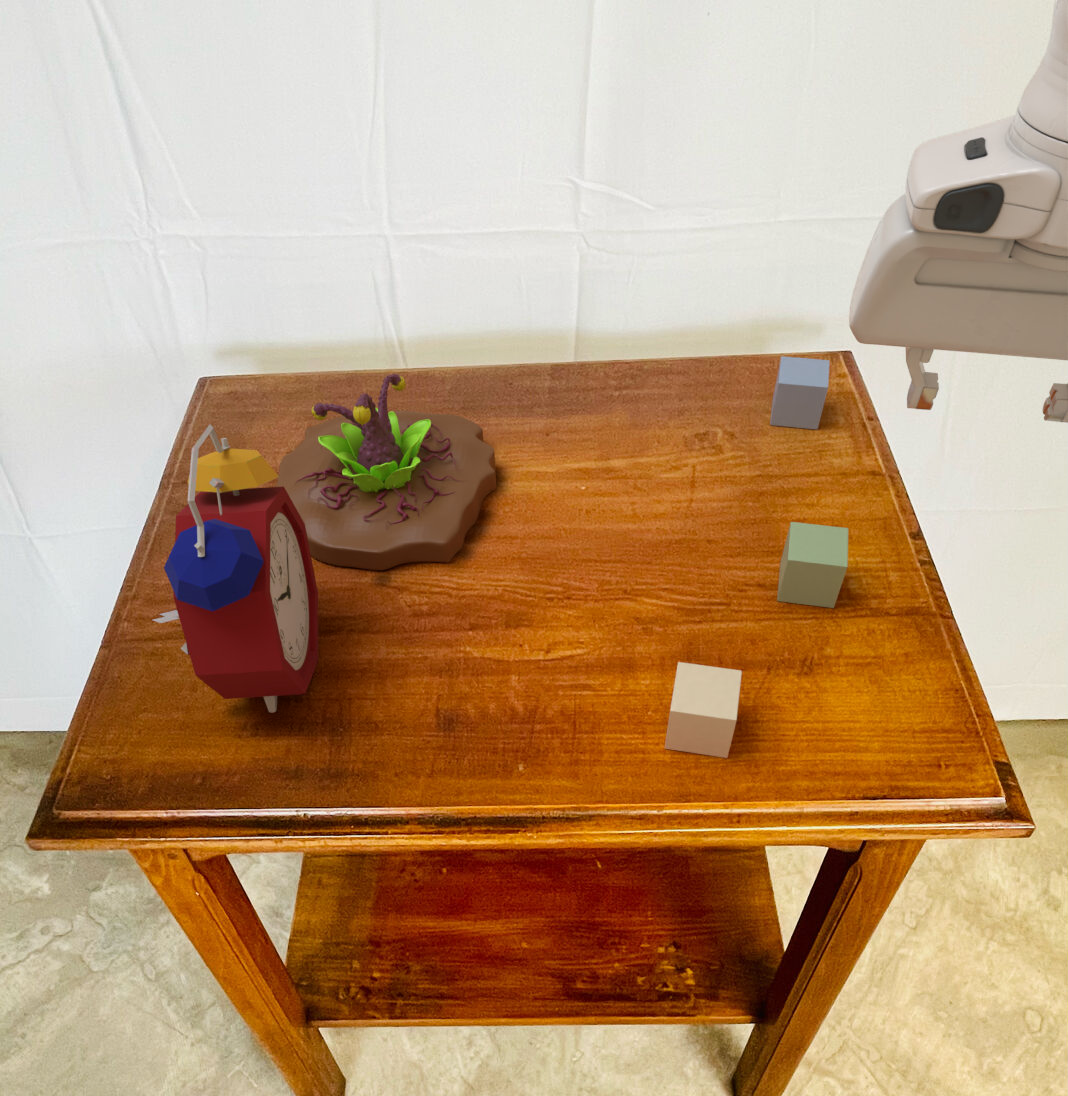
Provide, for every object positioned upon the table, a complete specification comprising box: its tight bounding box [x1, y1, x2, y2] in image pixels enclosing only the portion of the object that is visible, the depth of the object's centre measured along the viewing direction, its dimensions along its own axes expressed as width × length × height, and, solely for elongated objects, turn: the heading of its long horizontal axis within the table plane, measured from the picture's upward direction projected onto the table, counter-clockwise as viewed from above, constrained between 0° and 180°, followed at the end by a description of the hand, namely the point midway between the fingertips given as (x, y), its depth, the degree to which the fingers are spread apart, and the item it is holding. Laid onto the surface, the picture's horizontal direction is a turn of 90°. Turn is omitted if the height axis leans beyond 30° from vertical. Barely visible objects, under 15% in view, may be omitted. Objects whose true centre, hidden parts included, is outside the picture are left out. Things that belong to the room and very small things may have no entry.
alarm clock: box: [152, 423, 319, 714], centre depth 63 cm, size 15×9×20 cm, turn 3°
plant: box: [275, 373, 497, 571], centre depth 78 cm, size 20×20×11 cm
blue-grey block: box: [769, 355, 831, 431], centre depth 86 cm, size 4×4×4 cm
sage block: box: [776, 521, 849, 609], centre depth 72 cm, size 4×4×4 cm
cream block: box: [664, 661, 743, 759], centre depth 64 cm, size 4×4×4 cm
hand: (985, 410), depth 59 cm, fingers open, 7 cm apart
